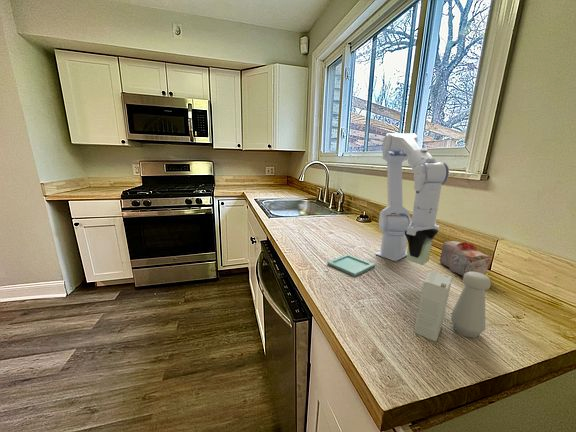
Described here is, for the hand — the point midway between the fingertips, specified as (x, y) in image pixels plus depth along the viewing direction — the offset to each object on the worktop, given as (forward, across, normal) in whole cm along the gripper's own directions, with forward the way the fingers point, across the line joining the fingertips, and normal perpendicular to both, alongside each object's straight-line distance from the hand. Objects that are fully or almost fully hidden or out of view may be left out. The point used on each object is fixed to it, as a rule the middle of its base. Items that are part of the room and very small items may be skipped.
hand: (418, 254), depth 68 cm
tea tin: (+2, 0, 0) cm, 2 cm away
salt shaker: (+9, -13, -16) cm, 23 cm away
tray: (+9, -6, +18) cm, 21 cm away
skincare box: (+9, -19, -11) cm, 24 cm away
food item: (+9, +19, -7) cm, 22 cm away
